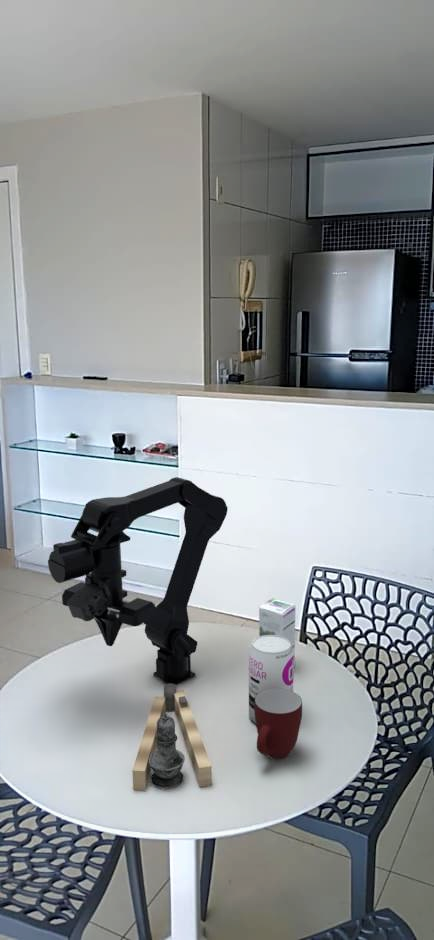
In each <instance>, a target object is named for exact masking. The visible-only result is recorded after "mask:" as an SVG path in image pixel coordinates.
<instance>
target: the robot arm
mask: <svg viewBox="0 0 434 940" xmlns="http://www.w3.org/2000/svg"><path fill="white" fill-rule="evenodd" d="M226 503H227V502H226V501H225V499H224V498H222V497H221V496H216V495H214V494H210V493H209V492H208V491H206V490H204V489H202V488H201V487H199V486H198V485H196V484H195V483H193V481H192V480H189V479H186V478H181V477H177V476H176V477H173V478H170V479H169V480H167V481H164V482H162V483H159V484H156V485H154V486H151V487H148V488H145V489H142V490H140V491H137V492H134V493H131V494H128V495H126V496H116V497H115V496H114V497H113V496H111V497H110V496H108V497H102V498H95V499H91V500H89V501H88V502H86V504H85V506H84V508H83V510H82V514H81V516H80V518H79V520H78V521H77V523H76V525H75V527H74V530H73V531H72V533H71V535H70V538H71V539H73V540H69V541H65V542H58V543H55V544H53V545H52V546H53V547H52V548H53V549H52V550H53V551H51V552H50V554H49V556H48V560H47V564H48V565H47V566H48V570H49V573H50V576H51V577H52V579H53V581H55V582H56V583H58V584H61V583H65V582H68V581H71V580H75V579H78V578H81V577H84V576H85V578H84V582H81V581H80V582H79V583H76V584H74V585H73V586H70V587H68V588H66V589H64V590H63V593H62V594H61V599H62V600H61V602H62V605H63V606H66V607H68V609H69V611H70V614H71V616H72V618H74V619H75V618H77V619H79V620H82V621H84V622H90V621H92V620H94V621H95V623H96V625H97V627H98V629H99V630H100V634H101V636H102V638H103V640H104V642H105V645H106V646H109V647H111V646H114V644H115V642H116V639H117V637H118V635H119V632H120V629H121V627H122V626H123V624H124V625H128V626H131V627H139V626H140V625H142V624H144V625H145V626H144V627H145V628H144V634H145V635H146V638H147V639H148V640H149V641H150V642H151V644H152V646H154V647H157V648H159V649H157V650H156V654H157V658H155V659H156V660H155V669H156V670H155V671H154V672H153V673H152V675H153V676H154V677H155V678H157V679H159V680H160V681H162V682H163V683H165V684H170V683H171V684H175V685H176V686H177V685H178V684H181V683H183V682H186V681H188V680H190V679H192V678H194V677H196V675H197V674H196V672H194V671H192V670H191V668H192V667H191V661H192V660H191V655H192V654H194V653H196V651H197V647H198V641H197V640H196V639H194V638H193V637H192V636H190V635H189V634H188V629H189V626H190V619H189V613H188V604H189V601H190V598H191V594H192V592H193V589H194V586H195V583H196V580H197V577H198V575H199V571H200V568H201V565H202V562H203V559H204V555H205V553H206V551H207V546H208V544H209V541H210V539H212V537H214V536H215V535H216V534H217V532H219V531H220V529H221V527H222V526H223V523H224V522H225V520H226V516H227V514H228V506H227V504H226ZM175 504H179V505H180V506H182V507H183V508H184V511H183V512H184V513H183V522H184V528H185V534H184V536H183V540H182V543H181V545H180V550H179V551H178V555H177V558H176V561H175V564H174V567H173V570H172V573H171V576H170V579H169V582H168V586H167V588H166V591H165V594H164V597H163V599H162V601H160V603H158V604H157V605H156V604H155V603H154V602H153V601H151V600H147V599H143V598H139V597H137V598H135V599H132V600H131V601H130V600H127V599H124V598H127V597H128V591H127V590H125V589H124V587H123V578H125V577H127V570H125V569H123V568H122V552H121V551H122V549H121V547H122V546H121V544H123V543H126V542H129V541H130V540H131V536H129V535H127V534H126V533H125V532H124V531H125V530H127V529H128V528H130V526H131V525H132V523H133V522H134V521H136V520H137V519H140V518H141V517H144V516H147V515H149V514H152V513H154V512H157V511H159V510H162V509H164V508H167V507H169V506H170V507H171V506H172V505H175ZM89 530H91V531H93V532H96V533H97V535H95V534H93V533H91V532H89Z"/></svg>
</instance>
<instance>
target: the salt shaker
mask: <svg viewBox="0 0 434 940" xmlns="http://www.w3.org/2000/svg"><path fill="white" fill-rule="evenodd" d="M163 715H164V716H162V717H160V718H159V719H158V720H157V735H156V737H155V741H156V743H157V749H156V751H155V752H153V753H152V754H151V755H150V757H149V764H150V766H151V771H152V772H153V773H152V774H151V776H150V782H151V783H152V785H154V787H156V788H159V789H164V790H168V789H174V788H176V787H178V786H180V785H181V784H182V782H183V780H184V775H183V772H182V771H181V770H182V768H183V765H184V763H185V760H186V757H185V755H184V753H183V752H182V751H180V750H178V749H177V743H176V742H177V741H178V735H177V734H176V729H175V728H176V724H175V719H174V718H173V717H172V716H169V715H168V713H167V711H166V712H165V713H164V714H163Z"/></svg>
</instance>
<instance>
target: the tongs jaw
mask: <svg viewBox="0 0 434 940" xmlns="http://www.w3.org/2000/svg"><path fill="white" fill-rule="evenodd" d="M165 712H166V713H167V711H166V700H165V697H164V696H154V698H153V702H152V705H151V709H150V712H149V715H148V718H147V721H146V723H145V724H146V725H145V728H144V730H143V734H142V738H141V740H140V745H139V748H138V751H137V754H136V757H135V761H134V764H133V767H132V771H131V773H132V789H133V791H146V790H147V786H148V782H149V780H150V777H151V776H150V775H151V771H152V768H151V766H150V764H149V757H150V755H151V754H152V753H153V752H155V751H157V743H156V741H155V737H156V735H157V720H158V719H159V718H160V717H162V716H164V715H163V714H164V713H165Z"/></svg>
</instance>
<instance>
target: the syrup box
mask: <svg viewBox="0 0 434 940" xmlns="http://www.w3.org/2000/svg"><path fill="white" fill-rule="evenodd" d="M258 608H259V609H258V610H259V611H258V613H259V614H258V618H259V619H258V620H259V621H258V622H259V623H258V625H259V627H258V629H259V632H258V633H259V636H264V635H277V636H281V637H284V638H286V639H288V640H289V641H290V644H291V646H292V648H293V650H294V667H295V666H296V665H295V664H296V663H295V662H296V651H295V649H296V604H295V603H291V602H287V601H284V600H279V599H276V598H271V599H268V600H267V601H265V602H264V603H262V604H261V606H259V607H258ZM259 636H258V637H259Z"/></svg>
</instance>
